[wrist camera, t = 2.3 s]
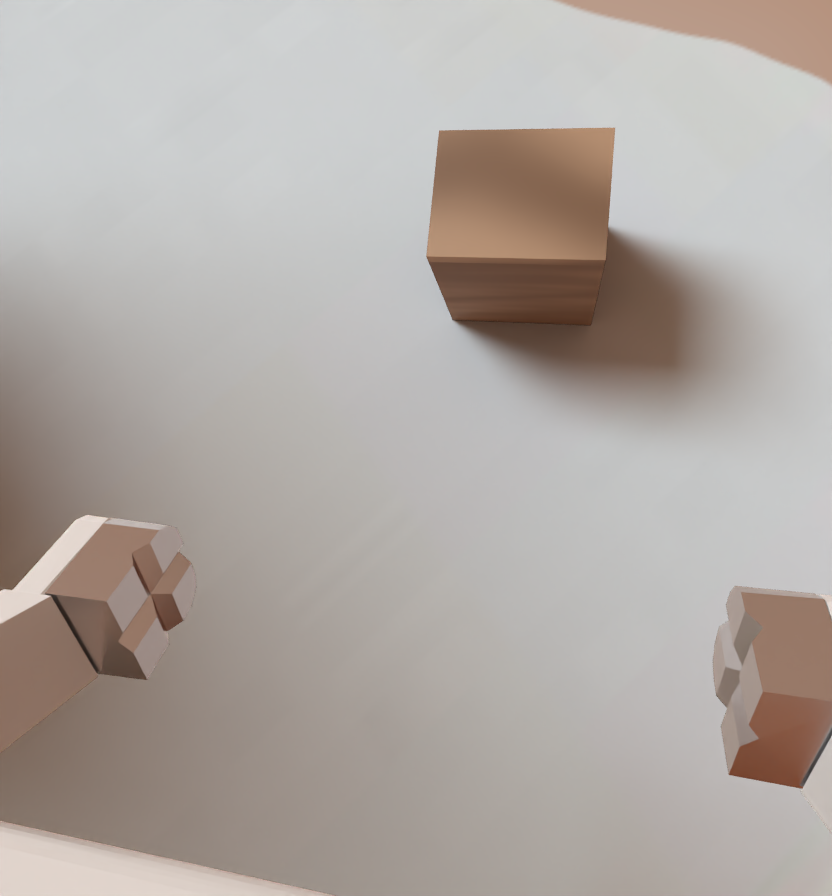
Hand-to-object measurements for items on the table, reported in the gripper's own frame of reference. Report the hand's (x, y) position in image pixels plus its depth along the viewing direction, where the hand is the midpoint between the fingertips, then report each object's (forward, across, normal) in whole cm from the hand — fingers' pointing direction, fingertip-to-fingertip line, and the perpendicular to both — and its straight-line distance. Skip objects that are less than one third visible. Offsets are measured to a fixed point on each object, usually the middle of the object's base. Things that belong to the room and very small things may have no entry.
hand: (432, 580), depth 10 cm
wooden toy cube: (+23, 0, +5) cm, 23 cm away
